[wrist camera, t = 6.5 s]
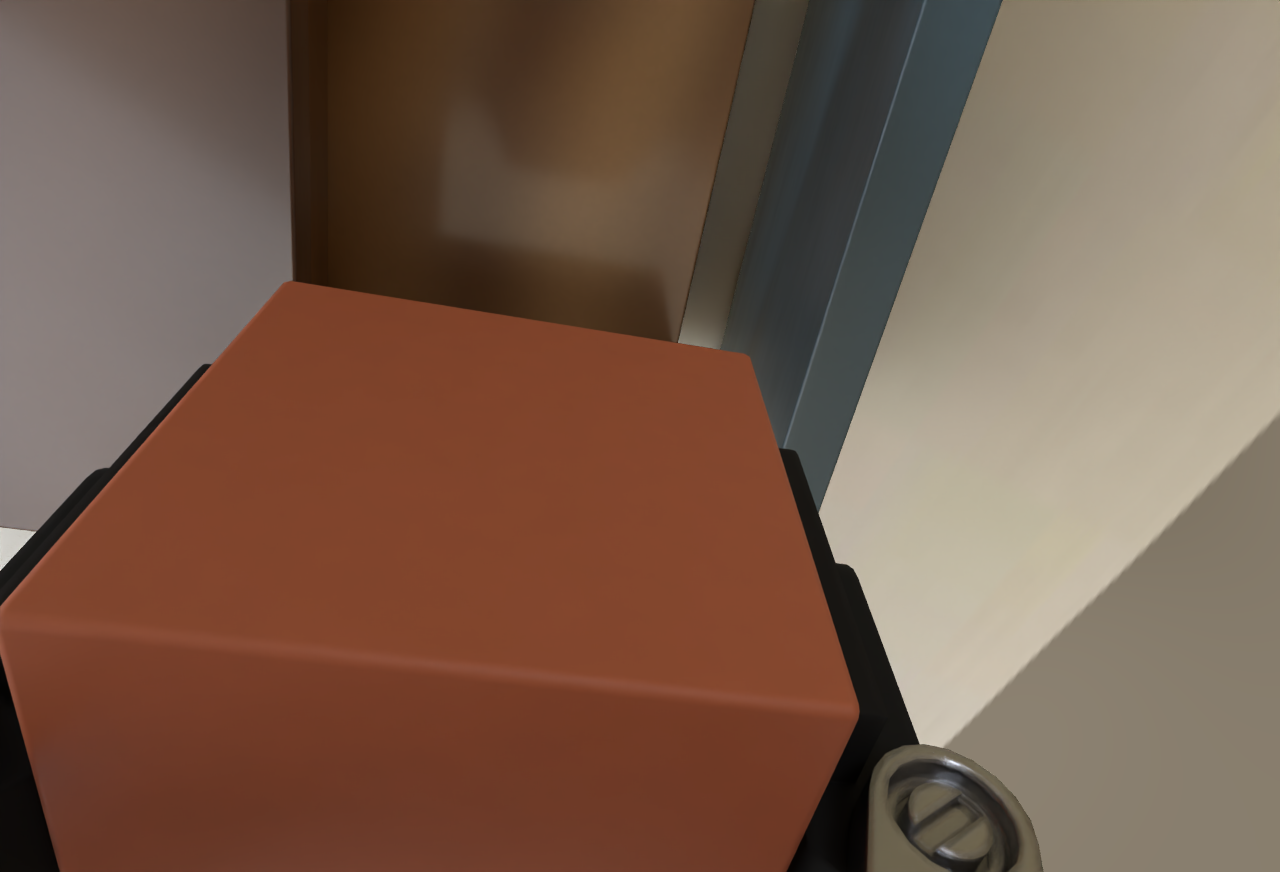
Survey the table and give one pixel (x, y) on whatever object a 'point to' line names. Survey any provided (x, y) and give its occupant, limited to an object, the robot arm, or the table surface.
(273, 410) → the block
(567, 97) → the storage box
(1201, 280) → the table surface
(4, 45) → the cabinet
